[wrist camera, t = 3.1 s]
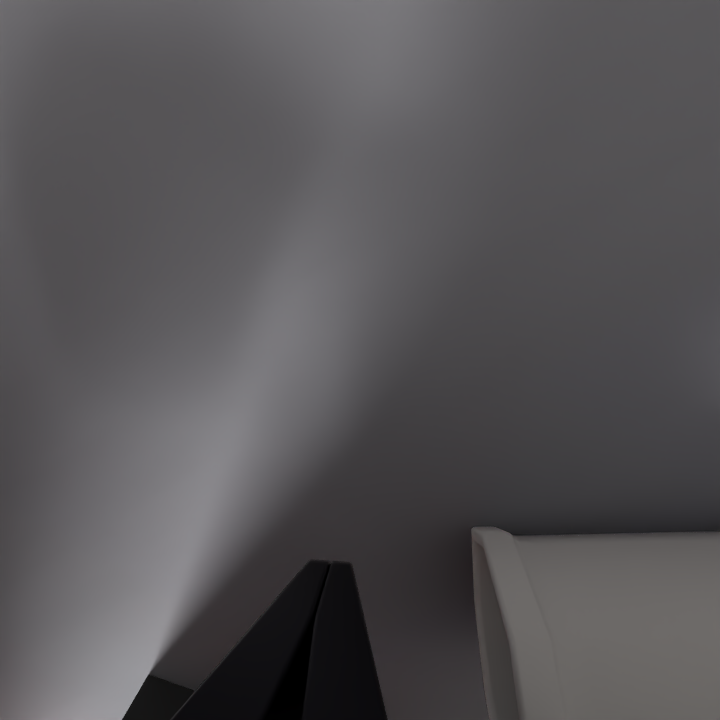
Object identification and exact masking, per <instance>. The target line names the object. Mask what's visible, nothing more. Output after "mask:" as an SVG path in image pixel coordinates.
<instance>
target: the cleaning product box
mask: <svg viewBox="0 0 720 720" xmlns="http://www.w3.org/2000/svg"><path fill="white" fill-rule="evenodd" d="M194 692H195V691H193V690H190V689H188V688H185V687H182V686H179V685H177V684H174V683H171V682H168V681H165V680H163V679H160V678H157V677H154V676H151V675H148V676H147V678H146V680H145V682H144V683H143V685H142V687H141V688H140V690H139V692H138V694H137V695H136V697H135V699H134V700H133V702H132V704H131V706H130V707H129V709H128V711H127V712H126V714H125V716H124V718H123V719H122V720H171V719H172V717H173V716H174V715H175V714H176V713H177V712H178V711H179V709H180V708H181V707H182V706H183V705H184V704H185V702H186V701H187V700H188V699H189V698H190V697H191V696H192V694H193V693H194Z"/></svg>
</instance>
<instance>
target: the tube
mask: <svg viewBox="0 0 720 720" xmlns="http://www.w3.org/2000/svg"><path fill="white" fill-rule="evenodd" d="M471 534H472V556H473V580H474V605H475V615H476V623H477V632H478V640H479V649H480V658H481V666H482V675H483V684H484V692H485V698H486V703H487V709H488V714H489V720H720V531H702V532H656V533H611V534H565V535H519V536H516V535H511V533H509V532H506V531H504V530H501V529H499V528H497V527H473V528H472V529H471Z"/></svg>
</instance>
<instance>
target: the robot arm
mask: <svg viewBox="0 0 720 720" xmlns="http://www.w3.org/2000/svg"><path fill="white" fill-rule="evenodd" d="M171 720H388V719H387V715H386V710H385V706H384V702H383V697H382V693H381V689H380V684H379V680H378V676H377V671H376V667H375V662H374V658H373V654H372V649H371V645H370V641H369V636H368V632H367V627H366V623H365V619H364V614H363V610H362V606H361V601H360V597H359V592H358V588H357V584H356V579H355V575H354V571H353V566H352V564H351V563H350V562H341V561H333V562H332V563H330V562H329V561H327V560H314V559H313V560H310V561H309V562H308V563H307V564H306V565H305V566H304V567H303V568H302V569H301V571H300V572H299V573H298V574H297V575H296V576H295V577H294V579H293V580H292V581H291V582H290V583H289V584H288V585H287V587H286V588H285V589H284V590H283V591H282V592H281V594H280V595H279V596H278V597H277V598H276V599H275V600H274V602H273V603H272V604H271V605H270V606H269V607H268V608H267V610H266V611H265V612H264V613H263V614H262V615H261V616H260V618H259V619H258V620H257V621H256V622H255V623H254V624H253V626H252V627H251V628H250V629H249V630H248V631H247V633H246V634H245V635H244V636H243V637H242V638H241V639H240V641H239V642H238V643H237V644H236V645H235V646H234V647H233V649H232V650H231V651H230V652H229V653H228V654H227V655H226V657H225V658H224V659H223V660H222V661H221V662H220V663H219V665H218V666H217V667H216V668H215V669H214V670H213V672H212V673H211V674H210V675H209V676H208V677H207V678H206V680H205V681H204V682H203V683H202V684H201V685H200V686H199V688H198V689H197V690H196V691H195V692H194V693H193V694H192V696H191V697H190V698H189V699H188V700H187V701H186V702H185V704H184V705H183V706H182V707H181V708H180V709H179V711H178V712H177V713H176V714H175V715H174V716H173V717H172V719H171Z"/></svg>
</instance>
